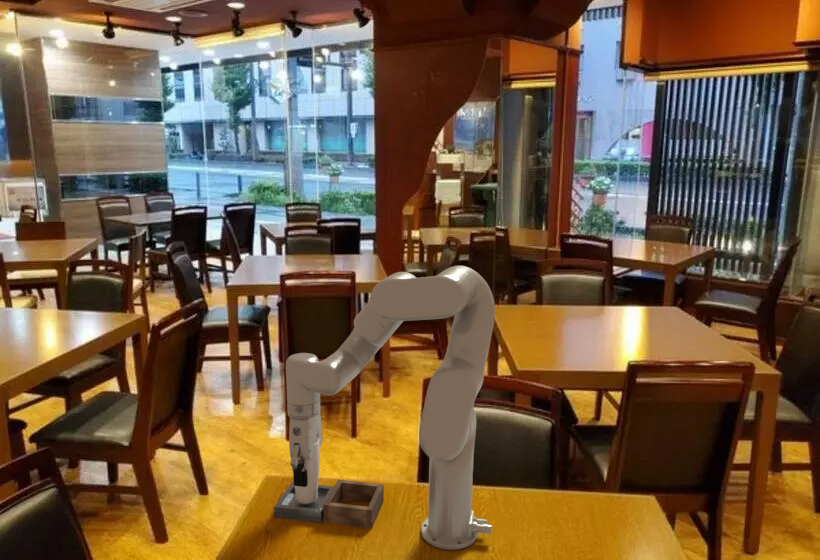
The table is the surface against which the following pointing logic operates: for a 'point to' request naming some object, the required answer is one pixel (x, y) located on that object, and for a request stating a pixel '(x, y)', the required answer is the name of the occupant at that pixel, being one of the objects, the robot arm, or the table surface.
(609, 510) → the table surface
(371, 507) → the frame
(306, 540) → the table surface
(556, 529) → the table surface
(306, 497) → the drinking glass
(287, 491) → the metal cradle
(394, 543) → the table surface
